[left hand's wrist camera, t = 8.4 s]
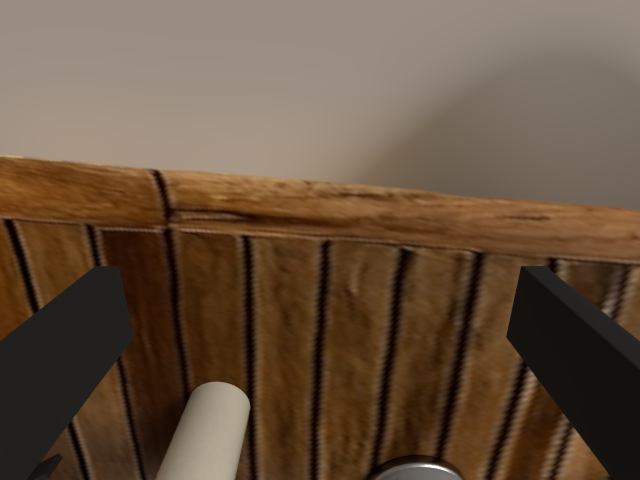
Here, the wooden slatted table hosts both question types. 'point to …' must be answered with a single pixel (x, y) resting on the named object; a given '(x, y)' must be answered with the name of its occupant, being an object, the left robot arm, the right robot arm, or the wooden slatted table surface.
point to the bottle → (208, 435)
